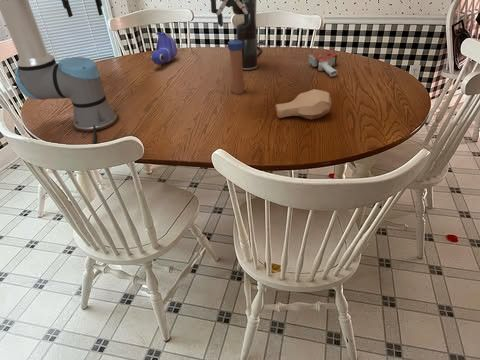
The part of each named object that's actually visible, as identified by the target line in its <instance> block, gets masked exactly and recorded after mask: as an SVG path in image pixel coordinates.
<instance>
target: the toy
mask: <svg viewBox="0 0 480 360" xmlns="http://www.w3.org/2000/svg"><path fill="white" fill-rule="evenodd" d="M155 35H156V36H157V35H158V38H157V39H156V45H155V51H151V53H152V54H151V56H150V60H151V61H152V62H153V63H154V64H156V65H157V67H158V68H159V69H161V66H162V64H167V63H169V62H171V61H173V60H174V59H175V57H177V55H178V46H177V43H176V41H175V39H174V38H173V37H172V36H171V35H170V36H168V35H167V34H166V32H164V31H162V32H159V31H158V32H156V33H155Z"/></svg>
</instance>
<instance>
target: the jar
mask: <svg viewBox="0 0 480 360" xmlns="http://www.w3.org/2000/svg"><path fill="white" fill-rule="evenodd" d="M229 57H230V73H231V89H232V94H235V95H240V94H243V93H244V91H245V89H244V70H243V67H242V49H241V50H236V51H233V50H229Z"/></svg>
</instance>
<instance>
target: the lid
mask: <svg viewBox="0 0 480 360" xmlns="http://www.w3.org/2000/svg"><path fill="white" fill-rule="evenodd" d="M227 49H228V50H229V51H230V50H233V51H236V50H241V49H243V42H242V41H240V40H237V39H233V40H230V41H228V42H227Z"/></svg>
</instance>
